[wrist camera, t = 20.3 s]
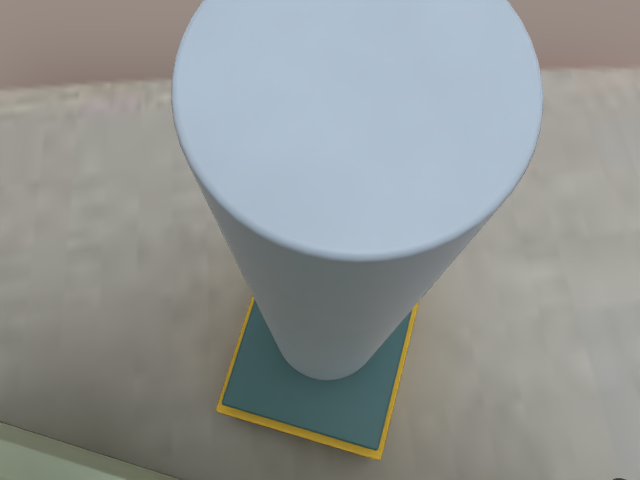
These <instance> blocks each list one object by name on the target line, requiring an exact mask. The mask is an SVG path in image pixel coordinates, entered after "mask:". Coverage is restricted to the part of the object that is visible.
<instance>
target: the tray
mask: <svg viewBox="0 0 640 480" xmlns="http://www.w3.org/2000/svg"><path fill="white" fill-rule="evenodd" d="M0 480H180V479H177V478H174V477H170V476H167V475H164V474H161V473H158V472H155V471H152V470H149V469H145V468H142V467H139V466H136V465H133V464H130V463H127V462H124V461H120V460H117V459H114V458H111V457H108V456H105V455H102V454H98V453H95V452H92V451H89V450H86V449H83V448H80V447H77V446H73V445H70V444H67V443H64V442H61V441H58V440H55V439H51V438H48V437H45V436H42V435H39V434H36V433H33V432H30V431H26V430H23V429H20V428H17V427H14V426H11V425H8V424H4V423H1V422H0Z"/></svg>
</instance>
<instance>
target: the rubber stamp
mask: <svg viewBox="0 0 640 480" xmlns="http://www.w3.org/2000/svg"><path fill="white" fill-rule="evenodd" d="M171 103H172V111H173V119H174V125H175V129H176V132H177V136H178V139H179V143H180V146H181V148H182V151H183V153H184V155H185V157H186V159H187V162H188V164H189V166H190V168H191V170H192V172H193V174H194V176H195V178H196V180H197V183H198V185H199V187H200V189H201V191H202V193H203V195H204V197H205V199H206V201H207V203H208V205H209V207H210V209H211V211H212V213H213V215H214V217H215V219H216V221H217V223H218V225H219V227H220V229H221V231H222V234H223V236H224V238H225V240H226V242H227V244H228V246H229V248H230V250H231V252H232V254H233V256H234V258H235V260H236V262H237V264H238V266H239V268H240V270H241V272H242V274H243V276H244V278H245V280H246V282H247V285H248V287H249V289H250V291H251V293H252V295H253V296H252V299H251V302H250V305H249V308H248V311H247V314H246V317H245V320H244V324H243V327H242V330H241V333H240V336H239V339H238V342H237V345H236V348H235V352H234V355H233V358H232V361H231V364H230V367H229V370H228V373H227V376H226V379H225V383H224V386H223V389H222V392H221V395H220V398H219V401H218V404H217V407H216V411H217V412H219V413H222V414H225V415H229V416H232V417H235V418H239V419H242V420H245V421H249V422H252V423H255V424H259V425H262V426H265V427H269V428H272V429H275V430H279V431H282V432H285V433H289V434H292V435H295V436H299V437H302V438H305V439H308V440H312V441H315V442H318V443H322V444H325V445H328V446H332V447H335V448H338V449H342V450H345V451H348V452H352V453H355V454H358V455H362V456H365V457H368V458H372V459H375V460H380V459H381V458H382V454H383V449H384V445H385V441H386V437H387V433H388V429H389V425H390V420H391V416H392V412H393V408H394V404H395V400H396V396H397V392H398V387H399V383H400V379H401V375H402V371H403V367H404V363H405V359H406V354H407V350H408V346H409V342H410V338H411V334H412V330H413V325H414V321H415V317H416V313H417V309H418V305H419V301H420V299H421V298H422V297H423V296H424V295H425V294H426V292H427V291H428V290H429V289H430V288H431V287H432V285H433V284H434V283H435V282H436V281H437V279H438V278H439V277H440V276H441V275H442V274H443V272H444V271H445V270H446V269H447V268H448V267H449V265H450V264H451V263H452V262H453V261H454V260H455V258H456V257H457V256H458V255H459V254H460V253H461V251H462V250H463V249H464V248H465V247H466V246H467V244H468V243H469V242H470V241H471V240H472V239H473V237H474V236H475V235H476V234H477V233H478V232H479V230H480V229H481V228H482V227H483V226H484V225H485V223H486V222H487V221H488V220H489V219H490V218H491V216H492V215H493V214H494V213H495V212H496V211H497V209H498V208H499V207H500V206H501V205H502V204H503V202H504V201H505V200H506V199H507V198H508V196H509V195H510V194H511V193H512V192H513V190H514V189H515V187H516V186H517V184H518V183H519V181H520V179H521V178H522V176H523V175H524V173H525V171H526V169H527V167H528V165H529V162H530V160H531V158H532V156H533V154H534V151H535V148H536V144H537V140H538V137H539V133H540V129H541V121H542V113H543V87H542V80H541V74H540V68H539V63H538V59H537V56H536V54H535V50H534V47H533V44H532V41H531V39H530V37H529V35H528V33H527V31H526V29H525V27H524V25H523V23H522V21H521V20H520V18H519V17H518V15H517V14H516V12H515V11H514V9H513V7H512V6H511V5H510V3H509V2H508V1H507V0H203V2H202V3H201V5H200V6H199V8H198V9H197V11H196V12H195V14H194V15H193V17H192V19H191V21H190V23H189V25H188V27H187V29H186V31H185V33H184V35H183V37H182V40H181V44H180V46H179V49H178V53H177V56H176V59H175V64H174V70H173V77H172V94H171Z"/></svg>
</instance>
